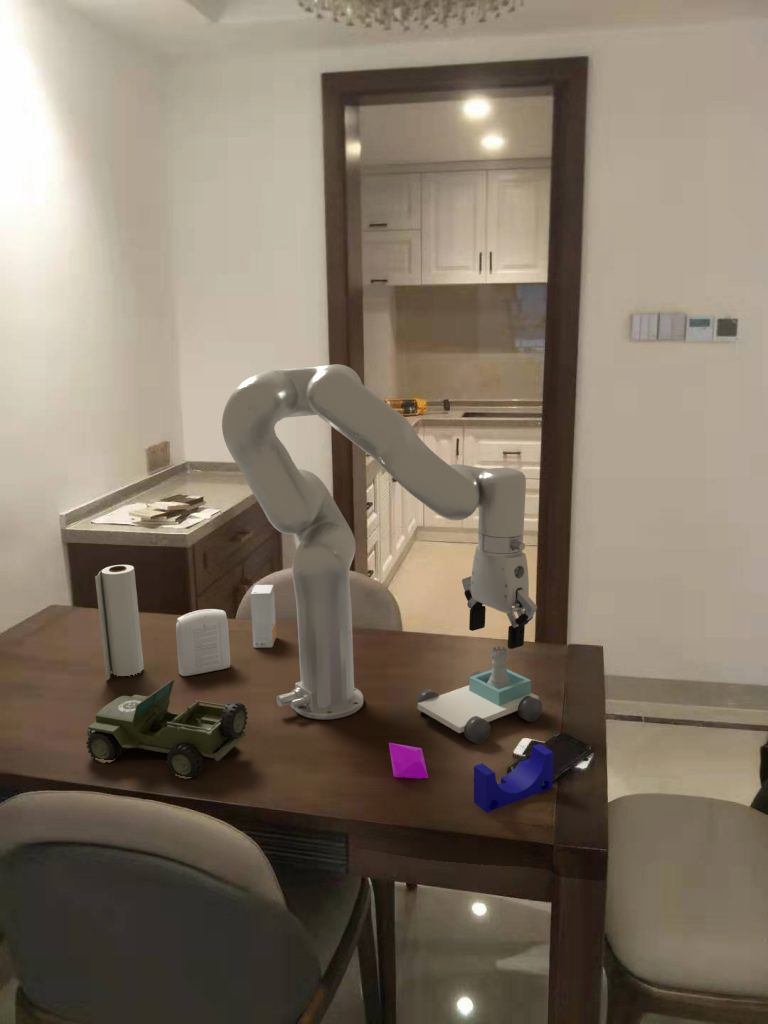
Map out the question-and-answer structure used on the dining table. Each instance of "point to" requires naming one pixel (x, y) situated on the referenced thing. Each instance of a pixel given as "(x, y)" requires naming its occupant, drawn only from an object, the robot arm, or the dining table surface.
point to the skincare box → (263, 616)
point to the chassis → (480, 704)
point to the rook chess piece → (499, 668)
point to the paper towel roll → (119, 620)
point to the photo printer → (202, 642)
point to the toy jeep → (167, 730)
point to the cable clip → (514, 780)
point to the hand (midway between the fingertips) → (495, 637)
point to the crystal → (407, 761)
